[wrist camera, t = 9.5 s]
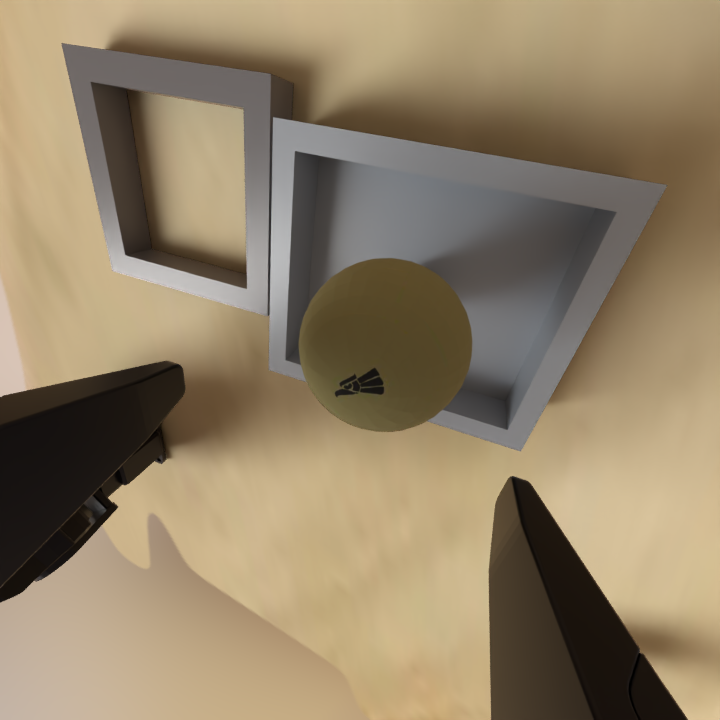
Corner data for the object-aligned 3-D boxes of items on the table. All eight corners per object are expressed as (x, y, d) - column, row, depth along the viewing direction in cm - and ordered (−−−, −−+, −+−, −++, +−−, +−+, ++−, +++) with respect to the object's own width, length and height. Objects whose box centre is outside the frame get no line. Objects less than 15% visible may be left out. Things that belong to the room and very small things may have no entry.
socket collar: (138, 263, 24) (112, 271, 22) (100, 54, 18) (61, 43, 16) (284, 304, 22) (267, 316, 20) (293, 83, 16) (270, 73, 14)
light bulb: (422, 199, 16) (347, 234, 7) (503, 289, 16) (518, 413, 8) (345, 282, 19) (230, 374, 10) (417, 356, 19) (363, 496, 11)
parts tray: (296, 344, 23) (268, 369, 20) (310, 125, 17) (273, 117, 14) (515, 410, 20) (520, 451, 17) (630, 181, 14) (667, 185, 11)
